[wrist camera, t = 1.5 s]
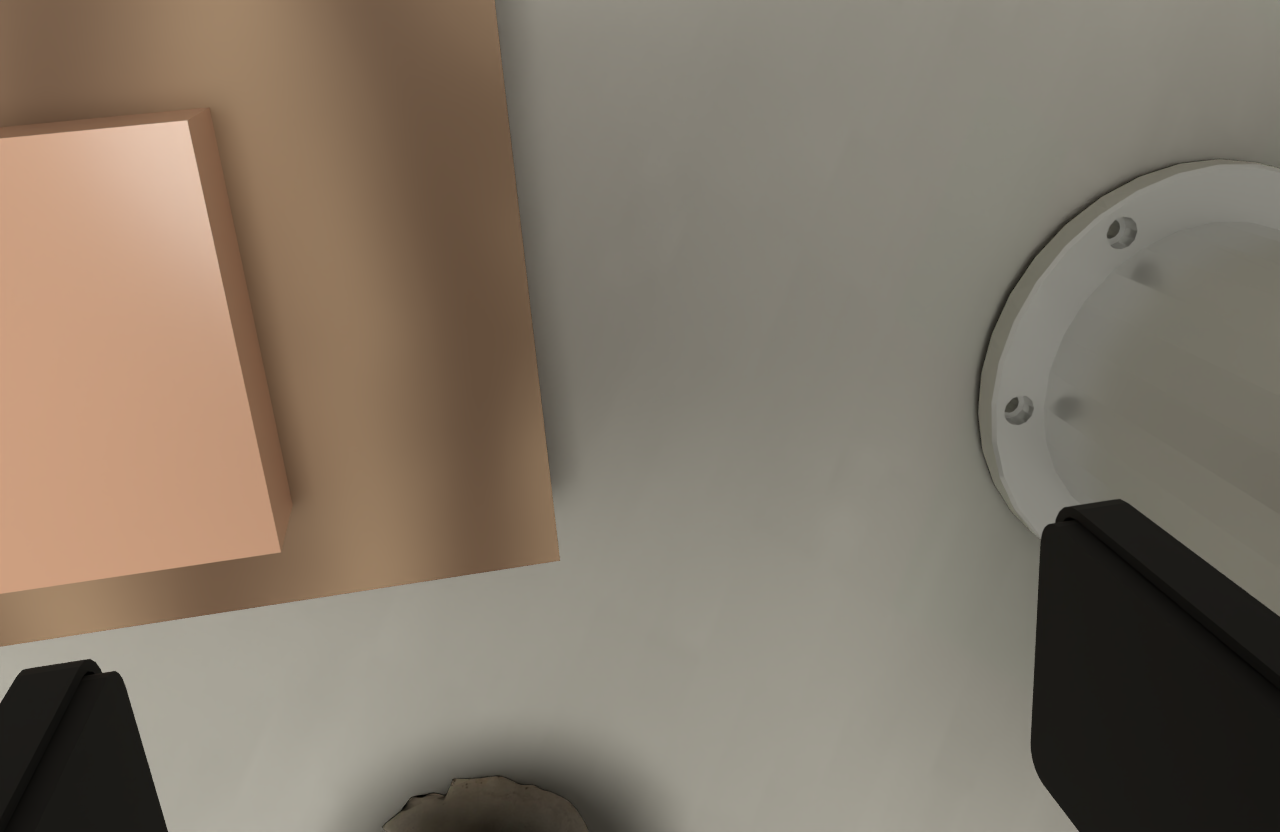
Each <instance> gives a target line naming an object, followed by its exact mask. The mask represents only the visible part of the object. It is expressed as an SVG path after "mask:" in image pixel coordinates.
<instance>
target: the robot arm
mask: <svg viewBox="0 0 1280 832" xmlns="http://www.w3.org/2000/svg"><path fill="white" fill-rule="evenodd" d="M1110 225H1111V227H1110V230H1109V231H1108V229H1109V226H1110ZM1009 402H1010V403H1009ZM1008 403H1009V404H1008ZM1007 404H1008V405H1007ZM1006 405H1007V406H1006ZM978 416H979V425H980V433H981V442H982V450H983V453H984V456H985V459H986V462H987V465H988V468H989V471H990V474H991V477H992V480H993V483H994V484H995V486H996V488H997V489H998V491H999V492H1000V494H1001V496H1002V497H1003V499H1004V501H1005V502H1006V504H1007V505H1008V507H1009V509H1010V510H1011V512H1012V513H1013V514H1014V515H1015V516H1016V517H1017V518H1018V519H1019V520H1020V521H1021V522H1022V523H1023V524H1024V525H1025V526H1026V527H1027V528H1028V529H1029V530H1030V531H1031V532H1032V533H1033V534H1034V535H1035V536H1037V537H1038V538H1039V539H1041V546H1040V566H1039V586H1038V606H1037V626H1036V646H1035V667H1034V687H1033V707H1032V727H1031V754H1032V759H1033V763H1034V766H1035V769H1036V772H1037V774H1038V776H1039V778H1040V780H1041V781H1042V783H1043V785H1044V786H1045V787H1046V789H1047V790H1048V791H1049V793H1050V794H1051V795H1052V797H1053V798H1054V799H1055V800H1056V802H1057V803H1058V804H1059V806H1060V807H1061V808H1062V810H1063V811H1064V812H1065V814H1066V815H1067V816H1068V818H1069V819H1070V820H1071V822H1072V823H1073V824H1074V825H1075V827H1076V828H1077V829H1078V831H1079V832H1280V168H1276V167H1272V166H1268V165H1264V164H1260V163H1254V162H1244V161H1234V160H1224V159H1216V160H1207V161H1199V162H1190V163H1181V164H1177V165H1174V166H1171V167H1168V168H1165V169H1162V170H1159V171H1156V172H1152V173H1149V174H1146V175H1143V176H1140V177H1138V178H1136V179H1134V180H1132V181H1131V182H1129V183H1127V184H1125V185H1123V186H1121V187H1119V188H1117V189H1116V190H1114V191H1112V192H1110V193H1108V194H1106V195H1104V196H1102V197H1101V198H1100V199H1098V200H1097V201H1096V202H1094V203H1093V204H1092V205H1090V206H1089V207H1088V208H1087V209H1085V210H1084V211H1083V212H1081V213H1080V214H1079V215H1078V216H1076V217H1075V218H1074V219H1072V220H1071V221H1070V222H1068V223H1067V224H1066V225H1065V226H1064V227H1063V228H1062V229H1061V230H1060V231H1059V232H1058V233H1057V235H1056V236H1055V237H1054V238H1053V239H1052V240H1051V241H1050V242H1049V243H1048V244H1047V245H1046V246H1045V247H1044V248H1043V249H1042V251H1041V252H1040V253H1039V254H1038V255H1037V256H1036V257H1035V258H1034V260H1033V261H1032V263H1031V264H1030V266H1029V267H1028V269H1027V270H1026V272H1025V273H1024V275H1023V276H1022V278H1021V279H1020V281H1019V282H1018V284H1017V285H1016V286H1015V288H1014V289H1013V291H1012V292H1011V294H1010V296H1009V298H1008V300H1007V302H1006V305H1005V307H1004V309H1003V311H1002V313H1001V315H1000V318H999V320H998V322H997V324H996V326H995V328H994V331H993V333H992V336H991V340H990V343H989V347H988V351H987V355H986V358H985V362H984V366H983V369H982V373H981V384H980V396H979V409H978ZM0 832H168V830H167V827H166V823H165V820H164V817H163V813H162V810H161V806H160V803H159V799H158V796H157V793H156V789H155V786H154V782H153V779H152V775H151V772H150V769H149V765H148V762H147V758H146V755H145V752H144V748H143V745H142V741H141V738H140V734H139V731H138V728H137V724H136V721H135V717H134V714H133V710H132V707H131V704H130V700H129V697H128V693H127V690H126V687H125V684H124V681H123V679H122V677H121V676H120V674H119V673H117V672H116V671H112V672H106V673H102V672H101V669H100V668H99V666H98V665H97V664H96V662H94V661H93V660H91V659H87V660H80V661H74V662H67V663H61V664H55V665H48V666H42V667H35V668H29V669H25V670H22V671H21V672H20V673H19V674H18V676H17V677H16V678H15V680H14V682H13V683H12V685H11V687H10V688H9V690H8V692H7V693H6V695H5V697H4V698H3V700H2V702H1V703H0Z"/></svg>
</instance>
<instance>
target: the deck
mask: <svg viewBox="0 0 1280 832" xmlns="http://www.w3.org/2000/svg"><path fill="white" fill-rule="evenodd" d="M207 107H210V112H211V117H212V122H213V127H214V131H215V136H216V141H217V146H218V150H219V155H220V160H221V165H222V170H223V174H224V179H225V184H226V189H227V193H228V198H229V203H230V208H231V213H232V217H233V222H234V227H235V232H236V236H237V241H238V246H239V251H240V255H241V260H242V265H243V270H244V275H245V279H246V284H247V289H248V294H249V298H250V303H251V308H252V313H253V318H254V322H255V327H256V332H257V337H258V341H259V346H260V351H261V356H262V361H263V365H264V370H265V375H266V380H267V384H268V389H269V394H270V399H271V404H272V408H273V413H274V418H275V423H276V427H277V432H278V437H279V442H280V447H281V451H282V456H283V461H284V466H285V470H286V475H287V480H288V485H289V490H290V494H291V499H292V504H293V506H292V510H291V514H290V518H289V522H288V526H287V530H286V534H285V538H284V542H283V546H282V551H281V552H280V553H274V554H267V555H260V556H253V557H247V558H240V559H233V560H226V561H220V562H213V563H206V564H199V565H192V566H186V567H179V568H172V569H165V570H159V571H152V572H145V573H138V574H132V575H125V576H118V577H111V578H105V579H98V580H91V581H84V582H77V583H71V584H64V585H57V586H50V587H44V588H37V589H30V590H23V591H17V592H10V593H3V594H0V647H1V646H7V645H14V644H20V643H27V642H33V641H40V640H46V639H53V638H59V637H66V636H72V635H79V634H85V633H92V632H98V631H105V630H111V629H118V628H124V627H131V626H137V625H144V624H150V623H157V622H163V621H170V620H176V619H183V618H189V617H196V616H202V615H209V614H216V613H222V612H229V611H235V610H242V609H248V608H255V607H261V606H268V605H274V604H281V603H287V602H294V601H300V600H307V599H313V598H320V597H326V596H333V595H339V594H346V593H352V592H359V591H365V590H372V589H378V588H385V587H391V586H398V585H404V584H411V583H417V582H424V581H430V580H437V579H443V578H450V577H456V576H463V575H469V574H476V573H482V572H489V571H495V570H502V569H508V568H515V567H521V566H528V565H534V564H541V563H547V562H554V561H560V557H559V548H558V539H557V531H556V522H555V514H554V505H553V497H552V488H551V479H550V471H549V462H548V454H547V445H546V437H545V428H544V419H543V411H542V402H541V394H540V385H539V377H538V368H537V360H536V351H535V342H534V334H533V325H532V317H531V308H530V300H529V291H528V282H527V274H526V265H525V257H524V248H523V240H522V231H521V223H520V214H519V205H518V197H517V188H516V180H515V171H514V163H513V154H512V145H511V137H510V128H509V120H508V111H507V103H506V94H505V85H504V77H503V68H502V60H501V51H500V43H499V34H498V26H497V17H496V8H495V0H0V127H8V126H19V125H29V124H40V123H50V122H61V121H71V120H82V119H92V118H102V117H113V116H123V115H134V114H144V113H155V112H165V111H176V110H186V109H196V108H207Z"/></svg>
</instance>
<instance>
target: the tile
mask: <svg viewBox="0 0 1280 832" xmlns="http://www.w3.org/2000/svg"><path fill="white" fill-rule="evenodd" d="M292 506H293V504H292V499H291V494H290V490H289V485H288V480H287V475H286V470H285V466H284V461H283V456H282V451H281V447H280V442H279V437H278V432H277V427H276V423H275V418H274V413H273V408H272V404H271V399H270V394H269V389H268V384H267V380H266V375H265V370H264V365H263V361H262V356H261V351H260V346H259V341H258V337H257V332H256V327H255V322H254V318H253V313H252V308H251V303H250V298H249V294H248V289H247V284H246V279H245V275H244V270H243V265H242V260H241V255H240V251H239V246H238V241H237V236H236V232H235V227H234V222H233V217H232V213H231V208H230V203H229V198H228V193H227V189H226V184H225V179H224V174H223V170H222V165H221V160H220V155H219V150H218V146H217V141H216V136H215V131H214V127H213V122H212V117H211V112H210V107H207V108H196V109H186V110H176V111H165V112H155V113H144V114H134V115H123V116H113V117H102V118H92V119H82V120H71V121H61V122H50V123H40V124H29V125H19V126H8V127H0V594H3V593H10V592H17V591H23V590H30V589H37V588H44V587H50V586H57V585H64V584H71V583H77V582H84V581H91V580H98V579H105V578H111V577H118V576H125V575H132V574H138V573H145V572H152V571H159V570H165V569H172V568H179V567H186V566H192V565H199V564H206V563H213V562H220V561H226V560H233V559H240V558H247V557H253V556H260V555H267V554H274V553H280V552H281V551H282V546H283V542H284V538H285V534H286V530H287V526H288V522H289V518H290V514H291V510H292Z"/></svg>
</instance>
